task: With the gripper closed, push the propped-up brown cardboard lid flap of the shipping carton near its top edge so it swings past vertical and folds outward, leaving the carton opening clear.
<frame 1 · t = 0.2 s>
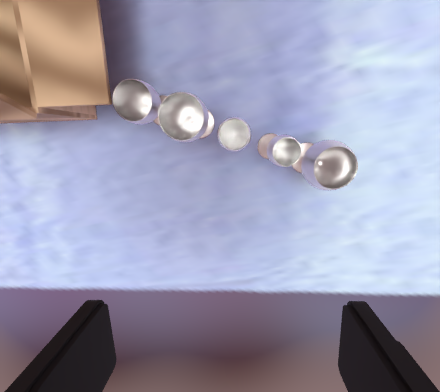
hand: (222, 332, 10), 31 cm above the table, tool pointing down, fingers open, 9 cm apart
goblet set: (236, 135, 39), on the table
carton: (27, 43, 37), on the table
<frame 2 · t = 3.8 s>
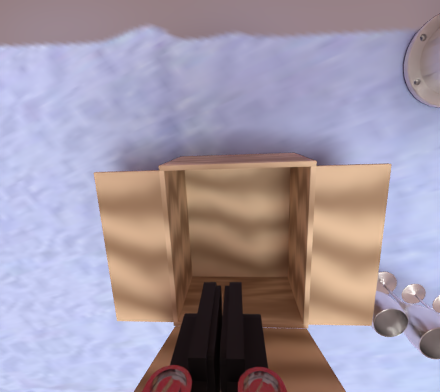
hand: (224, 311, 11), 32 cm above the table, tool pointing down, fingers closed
lid flap: (239, 378, 24), point 22 cm above the table, hinge at 70.0°
goblet set: (413, 293, 45), on the table
carton: (238, 219, 43), on the table
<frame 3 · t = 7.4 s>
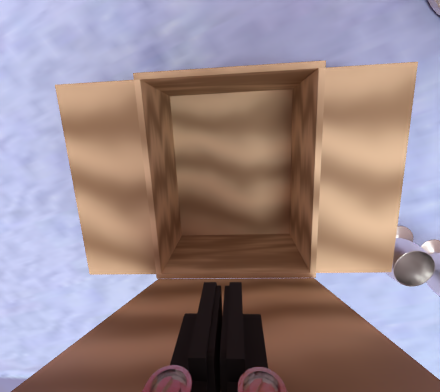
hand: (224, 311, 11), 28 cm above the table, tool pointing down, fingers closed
lid flap: (231, 318, 18), point 22 cm above the table, hinge at 71.5°, touching gripper
goblet set: (432, 251, 39), on the table
carton: (232, 167, 38), on the table
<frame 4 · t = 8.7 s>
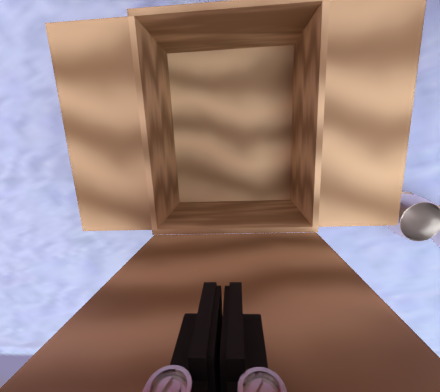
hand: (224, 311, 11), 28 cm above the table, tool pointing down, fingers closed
lid flap: (231, 288, 17), point 23 cm above the table, hinge at 85.8°, touching gripper
goblet set: (438, 218, 38), on the table
carton: (232, 130, 37), on the table
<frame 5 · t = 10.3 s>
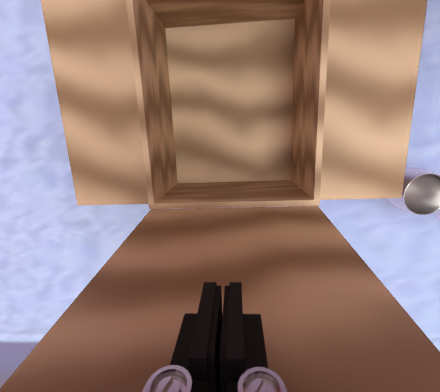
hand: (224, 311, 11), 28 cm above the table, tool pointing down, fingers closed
lid flap: (230, 271, 17), point 23 cm above the table, hinge at 95.1°, touching gripper
carton: (231, 108, 36), on the table
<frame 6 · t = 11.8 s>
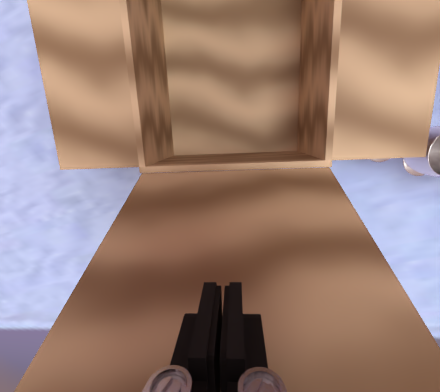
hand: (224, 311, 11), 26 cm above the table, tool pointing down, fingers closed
lid flap: (231, 263, 15), point 22 cm above the table, hinge at 111.2°, touching gripper
carton: (232, 71, 33), on the table
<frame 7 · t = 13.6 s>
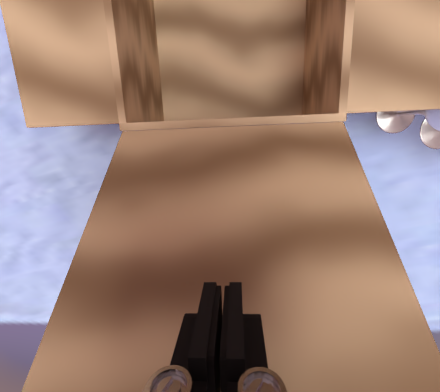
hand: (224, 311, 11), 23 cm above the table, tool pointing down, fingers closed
lid flap: (229, 255, 14), point 20 cm above the table, hinge at 129.4°, touching gripper
carton: (229, 29, 29), on the table
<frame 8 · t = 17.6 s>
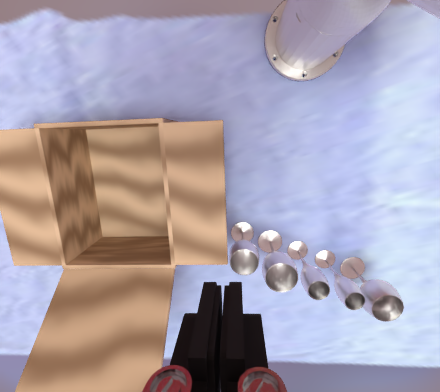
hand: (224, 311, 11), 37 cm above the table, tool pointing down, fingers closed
lid flap: (97, 349, 33), point 20 cm above the table, hinge at 129.4°
goblet set: (298, 250, 50), on the table
carton: (138, 184, 49), on the table
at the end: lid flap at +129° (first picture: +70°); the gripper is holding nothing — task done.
